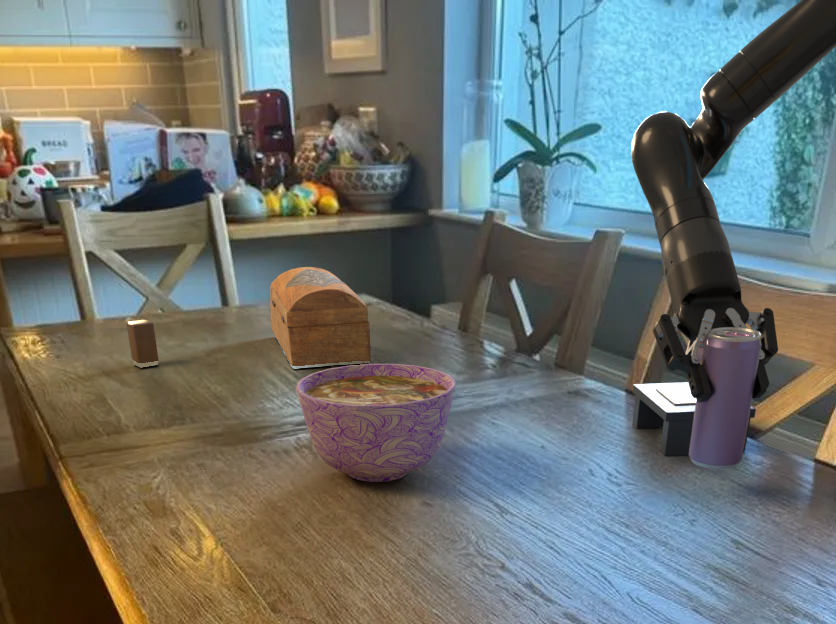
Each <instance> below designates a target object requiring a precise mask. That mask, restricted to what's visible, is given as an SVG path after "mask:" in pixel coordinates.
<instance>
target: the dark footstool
mask: <svg viewBox="0 0 836 624" xmlns="http://www.w3.org/2000/svg"><path fill="white" fill-rule="evenodd" d="M632 393H633V394H634V395H635V397H634V405H633V414H632V423H631V424H632V426H633V427H634V428H635V429H637V430H638V429H639V430H640V429H658V428H657V427H663V428H662V431H661V440H660V447H659V452H660V453H661V454H662V455H663V456H664V457H672V456H689V448H690V441H691V434H692V427H693V420H694V413H695V406H696V398H693V396H692V395H691V392H690V388H689V384H688V381H686V382H685V381H684V382H661V383H659V382H658V383H657V382H656V383H633V385H632ZM756 412H757V409H756V408H755V407H754V406H752V405H751V409H750V415H749V420H748V426H747V432H746V438H745V444H744V449H743V454H744V453H745V452H746V447H747V441H748V437H749V430H750V423H751V419H754V418H755V417H756Z"/></svg>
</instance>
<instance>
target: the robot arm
mask: <svg viewBox="0 0 836 624" xmlns="http://www.w3.org/2000/svg"><path fill="white" fill-rule="evenodd" d="M835 48H836V0H800V1H798V2H797V3H796V4H794V5H793V6H792V7H791V8H790V9H788V10H787V11H785V12H784V13H783V14H782V15H781V16H779V17H778V18H777V19H775V20H774V21H773V22H771V24H769V25H768V26H767V27H765V29H762V31H761V32H759V33H758V34H757V35H756V36H755V37H754V38H752V39H751V41H749V42H748V43H747V44H746V45H745V46H744V47H742V48H741V49H739V51H738V52H737V53H736V54H735V55H734V56H733V57H732V58H730V59H729V60H728V61H727V62H726V63H725V64H724V65H723V66H721V67H720V69H719V70H718V71H716V72H715V73H714V74H713V75H712V76H711V77H709V79H708V80H707V81H706V82H705V83H704V85H703V86H702V87H701V90H700V100H701V105H702V107H701V108H702V109H701V111H700V114H699V115H698V116H697V118H696V119H695V121H694V122H693V123H692V124H691V126H689V124H688V123H687V122H686V120H685V119H683V118H682V117H681V116H680V115H678V114H677V113H675V112H670V111H660V112H656V113H652V114H651V115H649V116H647V117H646V118H645V119H644V120H643V121H642V122H641V123H640V125H639V126H638V127H637V129H636V130H635V132H634V134H633V138H632V140H631V148H630V149H631V150H630V155H631V162H632V167H633V170H634V172H635V175H636V177H637V180H638V182H639V185H640V187H641V190H642V192H643V195H644V197H645V199H646V201H647V203H648V206H649V208H650V210H651V213H652V216H653V220H654V226H655V232H656V235H657V239H658V243H659V246H660V252H661V262H662V268H663V274H664V277H665V280H666V285H667V288H668V292H669V296H670V300H671V304H672V308H673V312H674V314H675V315H676V316H675V315H674V316H670V315H669V314H667V313H663V314H662V315H660V317H659V319H658V320H657V321H656V323H655V324H654V326H653V328H652V333H653V335H654V338H655V340H656V341H655V342H656V343H657V346H658V348H659V351H660V353H661V356H662V358H663V361H664V363H665V366H666V368H667V369H668V370H669V371H671V372H674V371H676V370H678V371H681V372H683V373H684V374H685V376H686V379H687V382H688V384H689V388H690V392H691V395H692V396H693V398H696V400H697V402H705V401H706V400H707V399H708V398H709V397H710V395H711V389H710V385H709V381H708V377H707V373H706V369H705V366H704V364H703V365H701V364H702V358H703V350H704V342H705V340H706V338H707V336H708V331H709V330H711V329H714V328H722V327H738V328H747V329H749V328H750V329H752V330H756V331H758V332H760V333H761V337H760V339H761V344H762V345H761V351H760V357H759V362H758V368H757V374H756V380H755V386H754V391H753V397H752V400H753V399H760V398H761V397H763V395H764V394H765V393H766V392H767V389H768V388H769V387H770V380H769V377H768V373H767V370H766V366H765V365H767V364H768V363H769V361H770V360H771V359H772V358H773V357H774V356H776V354H777V353H778V351H779V345H778V344H779V343H778V338H777V337H778V336H777V330H776V329H777V328H776V323H775V315H774V311H773V309H772V308H769V307H765V308H764V309H763V310H762V311H761V312H760V311H749V309H748V308H747V307H746V306H745V304H744V303H743V299H742V286H741V284H740V280H739V275H738V273H737V269H736V265H735V262H734V258H733V255H732V250H731V247H730V244H729V241H728V238H727V235H726V234H725V232H724V230H723V227H722V223H721V221H720V216H719V213H718V209H717V205H716V203H715V200H714V197H713V194H712V192H711V190H710V188H709V187H708V186H707V184H706V182H705V181H704V179H705V178H706V177H708V176H709V174H710V173H711V172H712V171H713V169H714V168H715V167H716V166H717V164H718V163H719V162H720V161H721V159H722V158H723V157H724V155H725V154H726V153H727V152H728V150H729V149H730V148H731V146H732V145H733V144H734V142H735V141H736V139H737V138H738V137H739V135H740V134H741V133H742V131H743V130H744V129H745V128H746V127H747V126H748V125H750V124H751V123H752V122H753V121H754V120H755V119H757V118H758V117H760V115H762V114H763V112H765V111H766V110H767V109H769V108H770V107H771V106H772V105H773V104H774V103H775V102H776V101H778V100H779V99H780V98H781V97H782V96H783V95H784V94H785V93H786V92H788V91H789V90H790V89H791V88H792V87H794V85H796V84H797V83H798V82H799V81H800V80H801V79H802V78H803V77H804V76H806V74H807V73H809V72H810V71H811V70H812V69H813V68H814V67H815V66H816V65H817V64H818V63H819V62H821V61H822V60H823V59H824V58H825V57H827V55H829V53H831V52H832V51H834V49H835ZM747 325H748V326H749V328H748V326H747ZM678 331H679V332H680V333H681V334H682V335H683V336H684V337H686V339H688V343H687V347H686V351H685V350H684V347H683V345H682V343H681V340H680V337H679V335H678V333H677V332H678Z"/></svg>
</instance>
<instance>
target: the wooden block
mask: <svg viewBox="0 0 836 624" xmlns="http://www.w3.org/2000/svg"><path fill="white" fill-rule="evenodd" d="M126 329H127V335H128V342H129V348H130V355H131V360H132V359H133V360H134V361H136V362H137V363H146V362H147V363H148V362H154V361H159V353H158V346H157V345H158V344H157V339H156V331H155V324H154V322H152V321H149V320H147V319H140V320H132V321H127V322H126ZM159 362H160V361H159Z"/></svg>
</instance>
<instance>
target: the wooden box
mask: <svg viewBox="0 0 836 624" xmlns="http://www.w3.org/2000/svg"><path fill="white" fill-rule="evenodd" d="M269 296H270V298H269V305H270V324H271V330H273V331H272V333H273V332H274V334H275V336H276V338H277V339H278V341H279V343H280V345H281V347H282V349H283V350H284V352H285V354H286V356H287V358H288V360H289V362H290V364H291V365H292V366H305V365H315V364H326V363H339V362H352V361H372V360H371V359H372V357H371V356H372V355H371V354H372V352H371V351H372V350H371V324H370V323H371V322H370V321H369V309H368V306H367V304H365V302H364V301H363V300H362V299H361V297H360V296H359V295H358V294H357V293H355V292H354V290H353V289H351V287H349V286H348V285H347V284H346V283H345V281H344V282H343V281H342V280H341V279H340V278H339V277H338V276H337V275H335V274H334V273H332V272H331V271H328V270H326V269H324V268H321V267H316V266H302V267H295V268H292V269H289V270H286V271H285V272H282V273H281V274H279V275H278V276H277V277H276V278H275V279H274V280H273V281H272V282H271V284H270V285H269Z"/></svg>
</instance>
